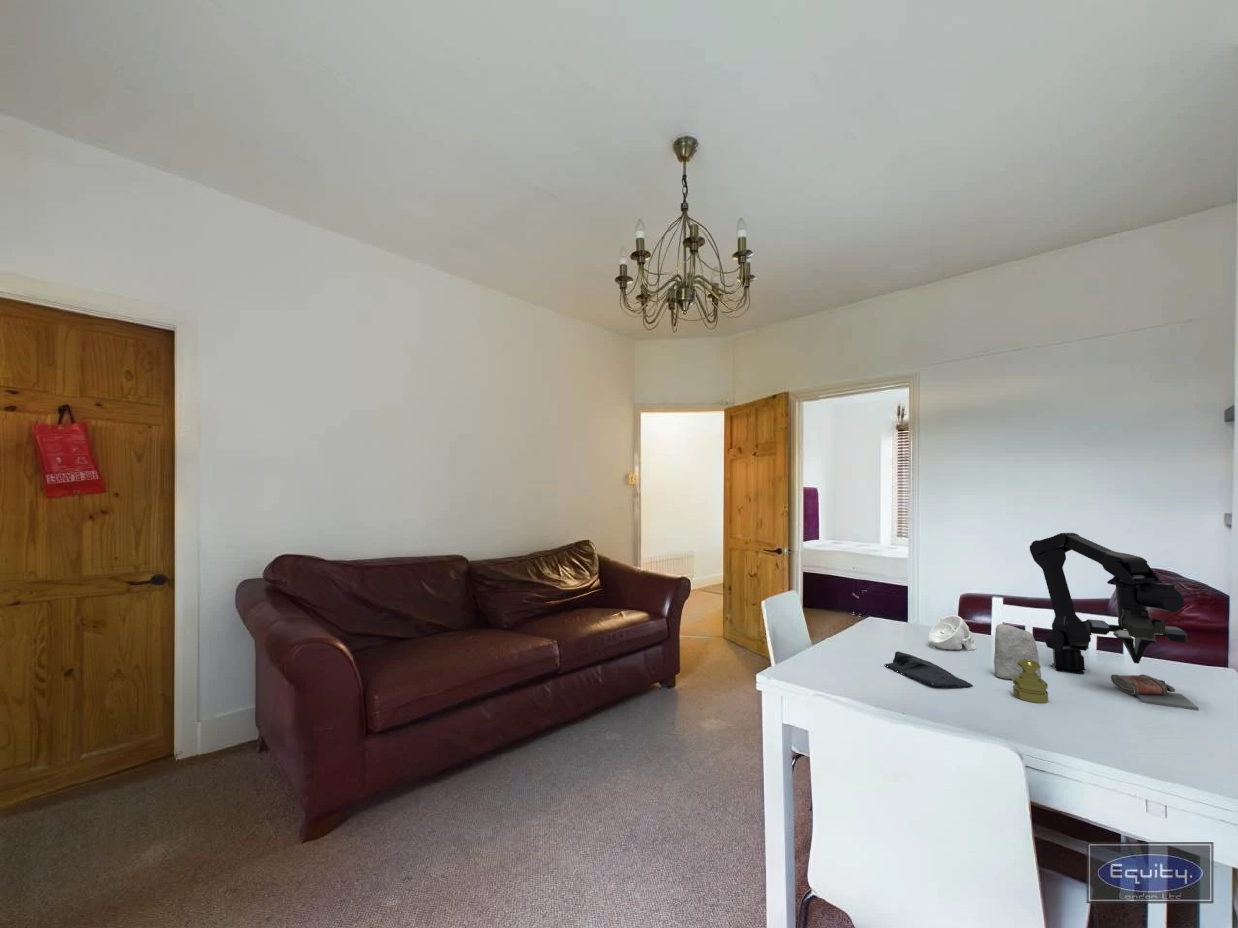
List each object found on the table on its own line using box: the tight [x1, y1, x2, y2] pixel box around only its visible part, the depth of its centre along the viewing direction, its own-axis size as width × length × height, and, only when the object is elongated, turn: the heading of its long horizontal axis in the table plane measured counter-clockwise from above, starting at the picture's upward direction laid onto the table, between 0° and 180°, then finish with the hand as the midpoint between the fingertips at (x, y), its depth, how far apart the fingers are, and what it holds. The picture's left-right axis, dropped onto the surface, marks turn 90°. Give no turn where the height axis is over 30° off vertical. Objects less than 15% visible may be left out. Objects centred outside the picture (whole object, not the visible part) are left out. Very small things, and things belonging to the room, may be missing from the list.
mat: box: [1135, 692, 1199, 711], centre depth 134 cm, size 10×10×1 cm
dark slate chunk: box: [884, 651, 974, 689], centre depth 154 cm, size 15×22×5 cm
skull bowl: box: [927, 614, 977, 651], centre depth 180 cm, size 10×14×12 cm
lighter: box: [1110, 674, 1176, 696], centre depth 138 cm, size 8×3×10 cm
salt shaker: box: [1011, 659, 1049, 704], centre depth 137 cm, size 7×7×10 cm
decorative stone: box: [993, 623, 1042, 680], centre depth 151 cm, size 11×6×15 cm, turn 65°
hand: (1136, 663), depth 137 cm, fingers closed
